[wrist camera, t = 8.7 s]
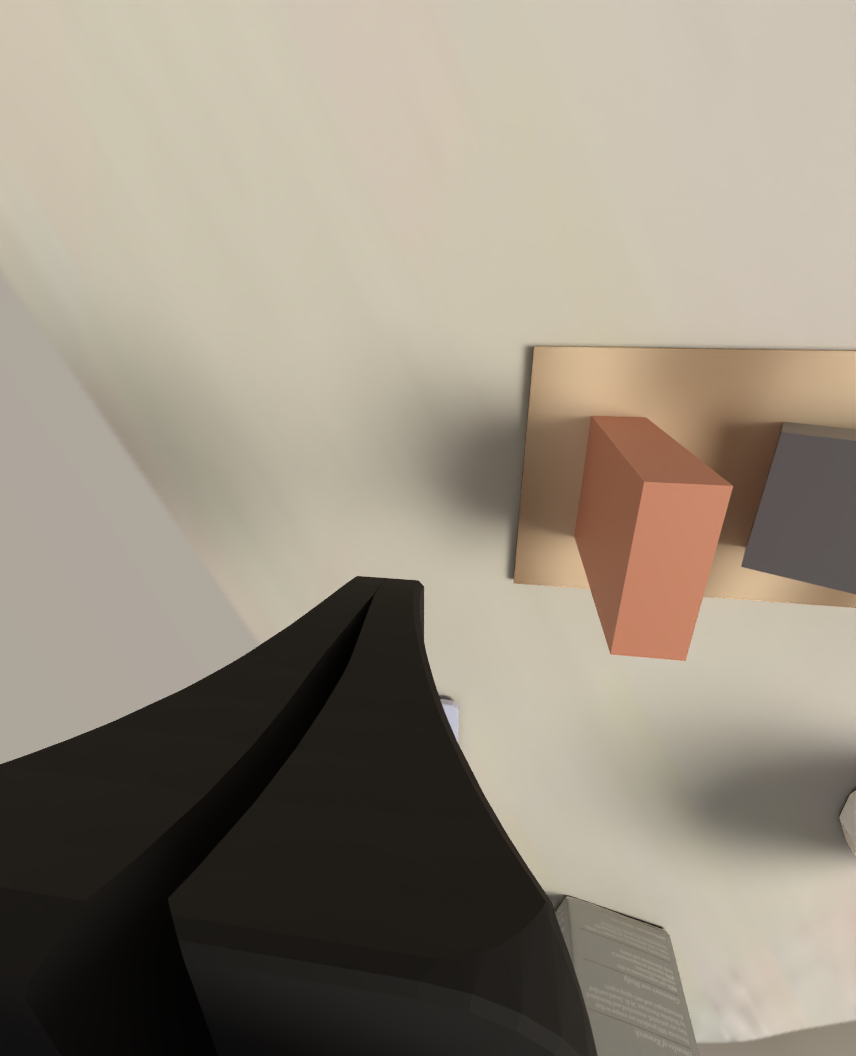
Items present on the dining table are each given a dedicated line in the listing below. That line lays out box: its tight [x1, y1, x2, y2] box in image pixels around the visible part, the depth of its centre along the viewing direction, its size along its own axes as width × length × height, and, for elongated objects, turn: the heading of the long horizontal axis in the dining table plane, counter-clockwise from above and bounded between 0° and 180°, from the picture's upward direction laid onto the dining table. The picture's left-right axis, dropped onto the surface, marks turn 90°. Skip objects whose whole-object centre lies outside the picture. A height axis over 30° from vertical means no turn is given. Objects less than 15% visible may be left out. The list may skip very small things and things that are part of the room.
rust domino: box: [574, 416, 733, 661], centre depth 15 cm, size 2×5×7 cm, turn 179°
